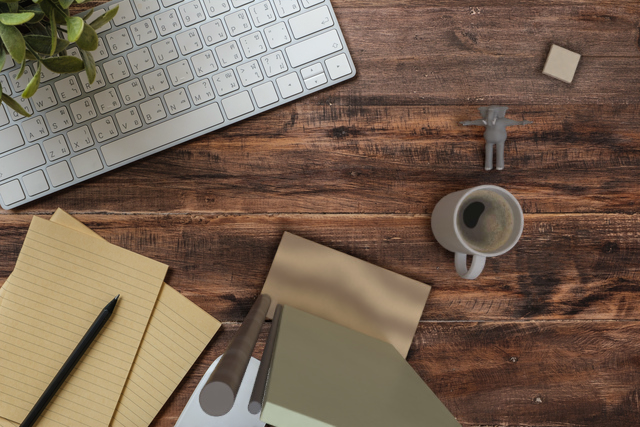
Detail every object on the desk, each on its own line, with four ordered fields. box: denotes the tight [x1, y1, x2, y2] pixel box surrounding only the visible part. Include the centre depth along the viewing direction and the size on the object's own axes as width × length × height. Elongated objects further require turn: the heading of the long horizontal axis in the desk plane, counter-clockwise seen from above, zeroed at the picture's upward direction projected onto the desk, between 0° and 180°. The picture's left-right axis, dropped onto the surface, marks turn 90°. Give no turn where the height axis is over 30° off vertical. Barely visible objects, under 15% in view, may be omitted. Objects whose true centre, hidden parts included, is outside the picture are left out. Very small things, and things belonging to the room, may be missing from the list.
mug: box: [430, 184, 525, 280], centre depth 64 cm, size 11×10×10 cm
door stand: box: [198, 230, 432, 418], centre depth 47 cm, size 12×22×40 cm, turn 69°
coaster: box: [541, 43, 582, 84], centre depth 70 cm, size 4×4×1 cm
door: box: [247, 304, 463, 427], centre depth 47 cm, size 2×17×38 cm, turn 69°
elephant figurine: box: [458, 104, 534, 171], centre depth 67 cm, size 10×6×9 cm
